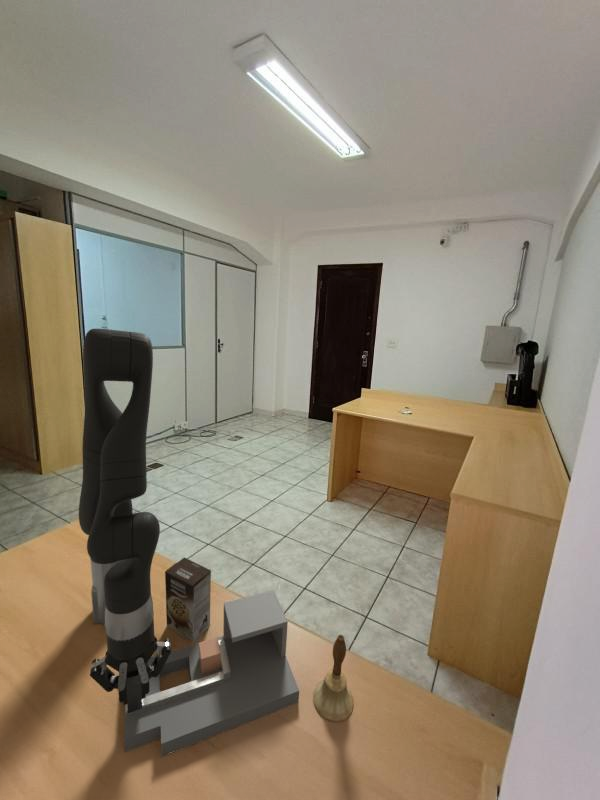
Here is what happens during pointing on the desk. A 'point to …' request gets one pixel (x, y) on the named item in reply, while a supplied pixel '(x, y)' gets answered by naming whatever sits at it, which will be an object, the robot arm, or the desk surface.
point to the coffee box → (188, 598)
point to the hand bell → (334, 688)
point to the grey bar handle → (139, 704)
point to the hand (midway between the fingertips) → (134, 696)
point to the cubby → (229, 702)
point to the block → (209, 655)
